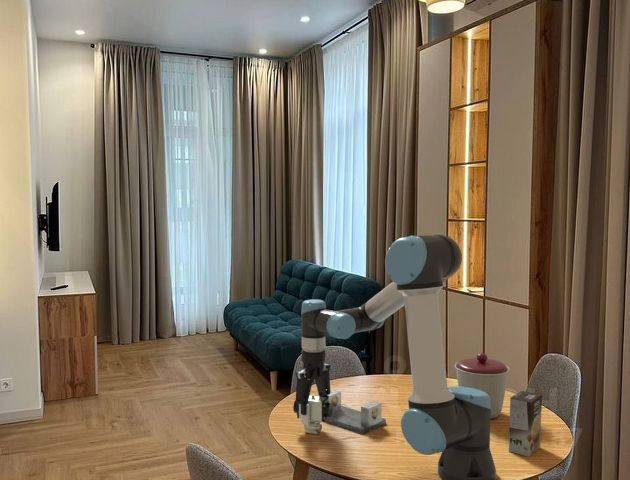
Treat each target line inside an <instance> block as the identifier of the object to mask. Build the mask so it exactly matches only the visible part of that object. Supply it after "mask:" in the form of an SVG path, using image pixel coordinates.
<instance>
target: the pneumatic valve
mask: <svg viewBox="0 0 630 480" xmlns="http://www.w3.org/2000/svg"><path fill="white" fill-rule="evenodd" d="M304 401H305V400H304ZM329 402H330V401H329V398H325V397H320V396H319V395H315V394H311V395H309V400H308V404H309V405H310V425H309V426H307V425H304V424H303V429H304V430H305V431H304V432H305V433H306V434H311V435H318V433H320V432H322V429H323V425H322V424H321V422H322V423H324V422H325V420H326V419H327V418H330V417H331V415H332V411H333V406H332V403H329ZM292 408H293V413H295V414H296V416H297V417H296V418H297V419H299V420H302V414H301V405H300V404H298V403H296V399H295V400H294V403H293V407H292Z"/></svg>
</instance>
